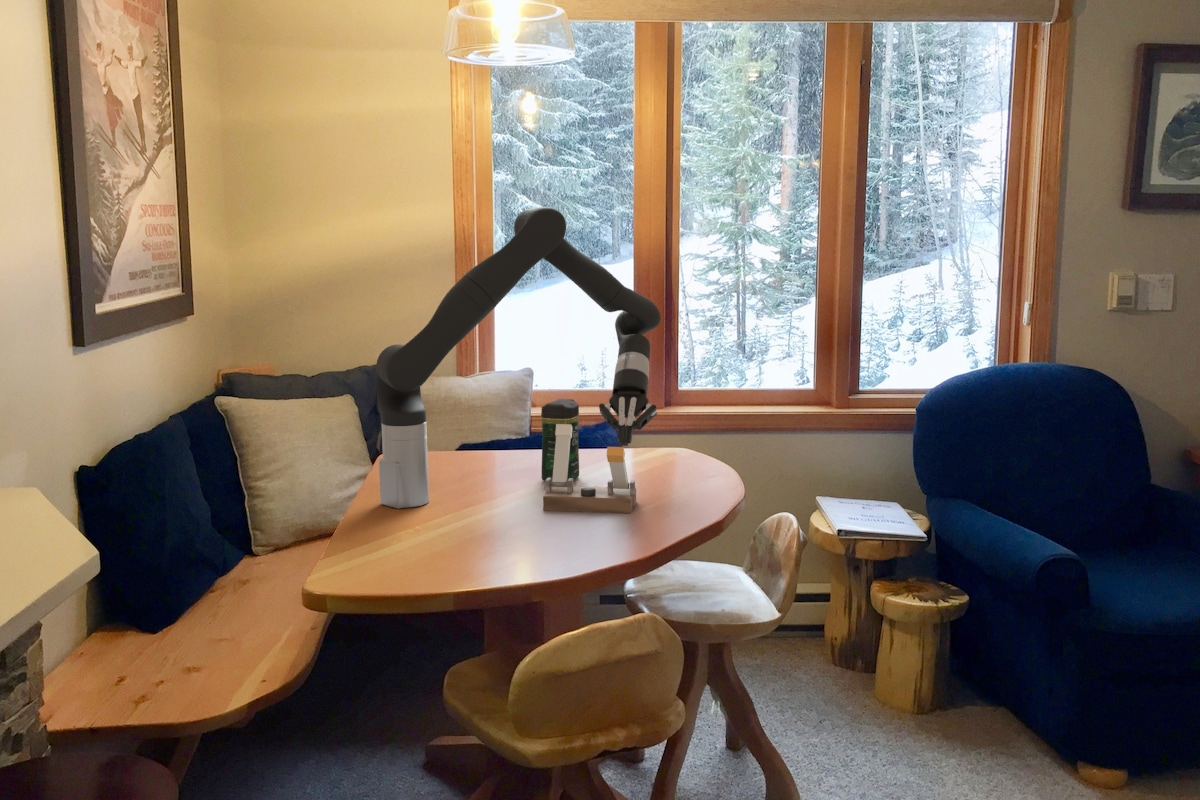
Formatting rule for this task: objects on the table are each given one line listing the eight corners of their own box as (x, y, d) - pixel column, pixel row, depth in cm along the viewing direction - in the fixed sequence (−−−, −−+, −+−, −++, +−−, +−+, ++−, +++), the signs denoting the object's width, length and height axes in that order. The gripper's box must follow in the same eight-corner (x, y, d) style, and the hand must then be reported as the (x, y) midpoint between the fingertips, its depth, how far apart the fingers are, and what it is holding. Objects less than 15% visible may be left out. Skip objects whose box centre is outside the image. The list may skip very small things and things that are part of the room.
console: (551, 499, 223) (550, 473, 222) (637, 501, 220) (637, 476, 219) (542, 510, 214) (542, 484, 213) (631, 513, 211) (631, 486, 211)
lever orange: (614, 483, 217) (607, 446, 206) (629, 483, 216) (623, 447, 206) (613, 491, 216) (606, 455, 205) (628, 491, 215) (622, 455, 205)
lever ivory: (552, 487, 219) (557, 427, 223) (567, 488, 218) (572, 427, 223) (550, 485, 217) (556, 424, 221) (565, 485, 216) (571, 424, 221)
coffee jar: (570, 485, 235) (569, 403, 232) (537, 483, 237) (536, 402, 234) (584, 476, 244) (583, 397, 241) (551, 473, 246) (550, 395, 243)
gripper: (599, 366, 227) (590, 433, 217) (660, 367, 225) (654, 434, 215) (603, 387, 233) (595, 452, 223) (662, 388, 231) (657, 454, 221)
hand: (624, 443), depth 219 cm, fingers closed
